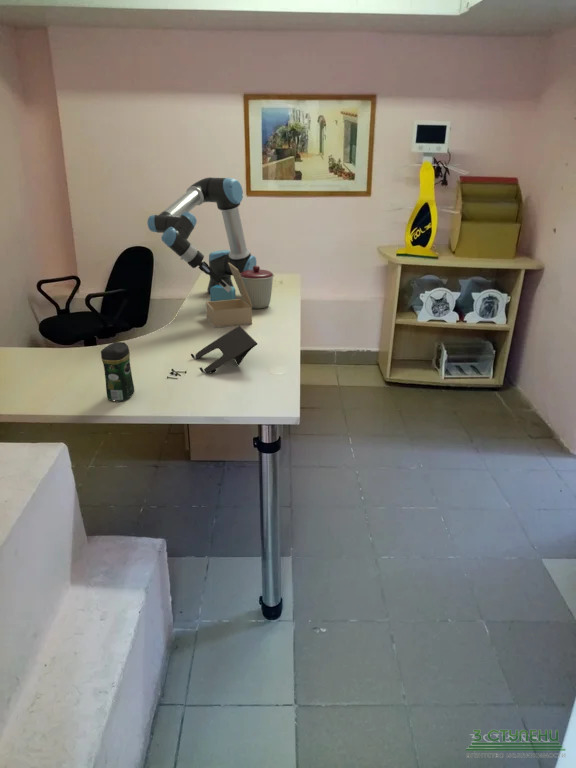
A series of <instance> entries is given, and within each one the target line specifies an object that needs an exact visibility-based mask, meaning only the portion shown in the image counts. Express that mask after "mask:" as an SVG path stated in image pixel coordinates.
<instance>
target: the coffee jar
mask: <svg viewBox="0 0 576 768" xmlns="http://www.w3.org/2000/svg"><path fill="white" fill-rule="evenodd" d="M100 357H101V362H102V364H103V370H104V379H105V389H106V391H105V393H106V398H107V400H109V399H110V401H111V400H115V401H114V402H116V401H119V402H123V400H125V401H127V400H128V398H129V397H130V396H131V395H132V394H133V395H134V394H135V385H134V380H133V375H132V367H131V360H130V348H129V345H128V344H127V343H125V342H123V341H113V342H112V343H110V344H108V345H107V346H105V347H104V348H103V349H102V350H101V351H100ZM133 395H132V396H133ZM132 396H131V397H132ZM131 397H130V398H131ZM130 398H129V399H130ZM126 399H127V400H126Z"/></svg>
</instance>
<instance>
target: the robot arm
mask: <svg viewBox="0 0 576 768" xmlns="http://www.w3.org/2000/svg"><path fill="white" fill-rule="evenodd" d="M243 193H244V191H243V187H242V184H241V183H240V181H239V180H237V179H236V178H231V177H205V178H202V179H200V180H198V181H195V182H194V183H193V184H191V185H190V186H189V187H188V188H187V189H186V191H185V193H184V194H183V195H181V196H179V197H178V199H176V200H175V201H173V203H172V204H170V205H169V206H168V207H167V208H165V209H164V210H163V211H162V212H160V213H159V214H150V216H149V217H148V219H147V223H146V224H147V228H148V230H149V231H150V232H153V233H157V234H158V233H162V235H161V237H160V238H161V241H162V242H163V243H164V244H165V245H166V246H167V247H168V248H170V250H172V251H173V253H175V254H176V255H177V256H178V257H180V260H181V261H182V260H183V261H184V262H185V263H187V264H188V265H189V266H190V267H191V268H192V269H195V268H197V267H198V269H199V270H200V271H201V272H203V273H205V275H208V276H209V283H208V286H207V288H206V289H207V294H208V295H210V288H211V287H213V286H215V285H220V286H222V287H223V288H224V289H225V290H226V291H227V292H228V293H229V291H230V290H231V289H232V288H231V287H230V286H232V287H234V288H235V286H234V284H233V281H232V280H233V279H232V277H233V274H232V272H231V269H230V267H229V264H228V263H231V264H232V265H233V266H234V267H236V268H237V269H238V270H239V272H240V273H242V272H243V271H246V270H253V267H254V266H257V257H256V255H252V253H251V251H250V249H249V248H248V247H247V244H246V240H245V235H244V229H243V225H242V224H243V223H242V220H241V214H240V210H239V207H240V205H241V202H242V201H243V198H244V197H243ZM204 203H215V204H216V206H217V209H218V210H219V211H221V215H222V219H223V223H224V224H223V225H224V227H225V228H224V229H225V232H226V237H227V241H228V246H229V249H230V250H229V249H225V250H224V249H223V250H216V251H215V250H214V251H212V252H210V253H209V254H208V263H207V262H206V261H204V257H205V255H204V254H203V253H202V252H201V251H200V250H198V249H197V248H196V247H195V246H194V245H193V244H192V243H191V242H190V241H189V240H188V238H189V237H190V236H191V234H192V232H193V231H194V229H195V227H196V224H197V223H198V222H197V218H196V216H195V215H194V213H191V212H190V211H192V210H193V209H194V208H195V207H196V206H200V205H202V204H204Z"/></svg>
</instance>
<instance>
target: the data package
mask: <svg viewBox="0 0 576 768" xmlns="http://www.w3.org/2000/svg"><path fill="white" fill-rule="evenodd" d="M230 287H231V288H232V289H231V290H230V291H229V293H228V292H227V291H226V290H225V289H224V288H223V287H222V286H220V285H215V286H213V287H211V288H210V294H209V298H210V302H211V301H223V300H234V299H237V298H236V294H237V293H236V288H235V286H234V287H232V286H230Z"/></svg>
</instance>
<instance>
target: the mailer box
mask: <svg viewBox="0 0 576 768" xmlns="http://www.w3.org/2000/svg"><path fill="white" fill-rule="evenodd" d="M205 305H206V307H205V308H206V319H207V320H208V321H209V323H210V324H211V325H212V326H213V328H214V329H215V328H223V327H232V326H235V327H237V326H244V325H252V324H253V308H252V307H251V306H250V305H249V304H248V303H246V302H245V301H244V300H243V298H236V299H234V300H223V301H211V300H210V301H206V302H205Z"/></svg>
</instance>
